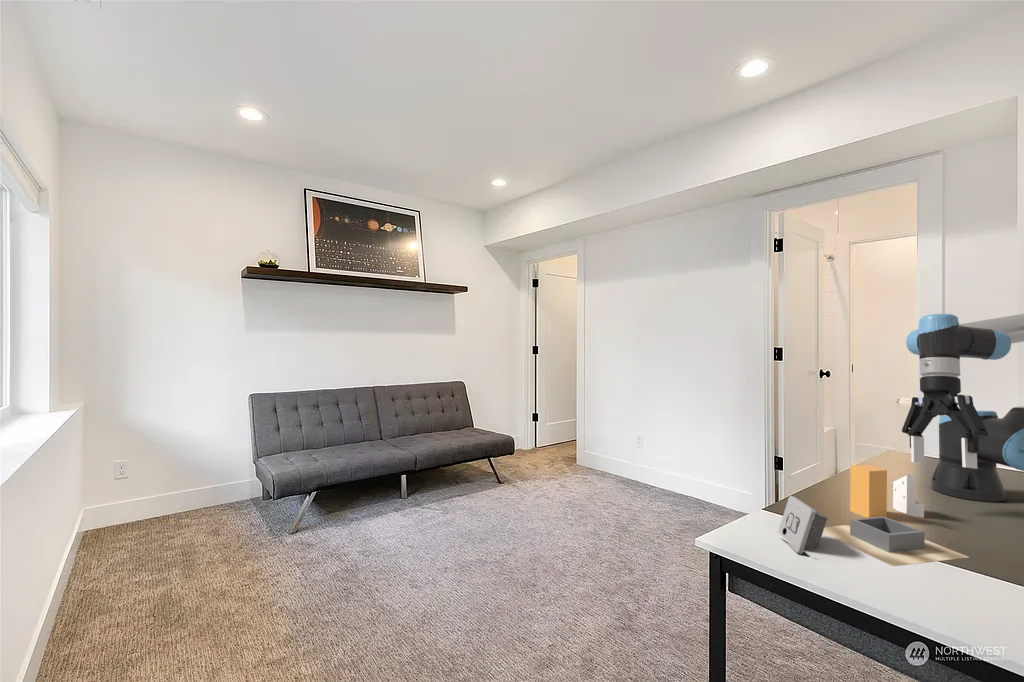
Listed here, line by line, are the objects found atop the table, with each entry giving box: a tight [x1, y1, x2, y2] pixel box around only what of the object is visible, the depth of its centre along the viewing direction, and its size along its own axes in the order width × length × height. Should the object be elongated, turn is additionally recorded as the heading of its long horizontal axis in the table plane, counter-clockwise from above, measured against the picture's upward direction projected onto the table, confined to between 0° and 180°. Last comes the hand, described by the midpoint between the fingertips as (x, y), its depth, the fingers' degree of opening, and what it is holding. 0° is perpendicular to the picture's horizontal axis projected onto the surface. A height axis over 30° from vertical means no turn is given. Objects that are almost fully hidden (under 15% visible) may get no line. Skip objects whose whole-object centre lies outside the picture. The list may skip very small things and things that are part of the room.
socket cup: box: [849, 516, 926, 553], centre depth 100 cm, size 9×9×3 cm
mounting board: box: [822, 524, 970, 567], centre depth 100 cm, size 18×18×1 cm
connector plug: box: [849, 464, 888, 518], centre depth 116 cm, size 5×5×12 cm
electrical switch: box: [777, 495, 828, 555], centre depth 100 cm, size 9×5×9 cm, turn 175°
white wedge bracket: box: [892, 474, 925, 518], centre depth 119 cm, size 4×10×9 cm, turn 168°
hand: (942, 465), depth 115 cm, fingers open, 13 cm apart
